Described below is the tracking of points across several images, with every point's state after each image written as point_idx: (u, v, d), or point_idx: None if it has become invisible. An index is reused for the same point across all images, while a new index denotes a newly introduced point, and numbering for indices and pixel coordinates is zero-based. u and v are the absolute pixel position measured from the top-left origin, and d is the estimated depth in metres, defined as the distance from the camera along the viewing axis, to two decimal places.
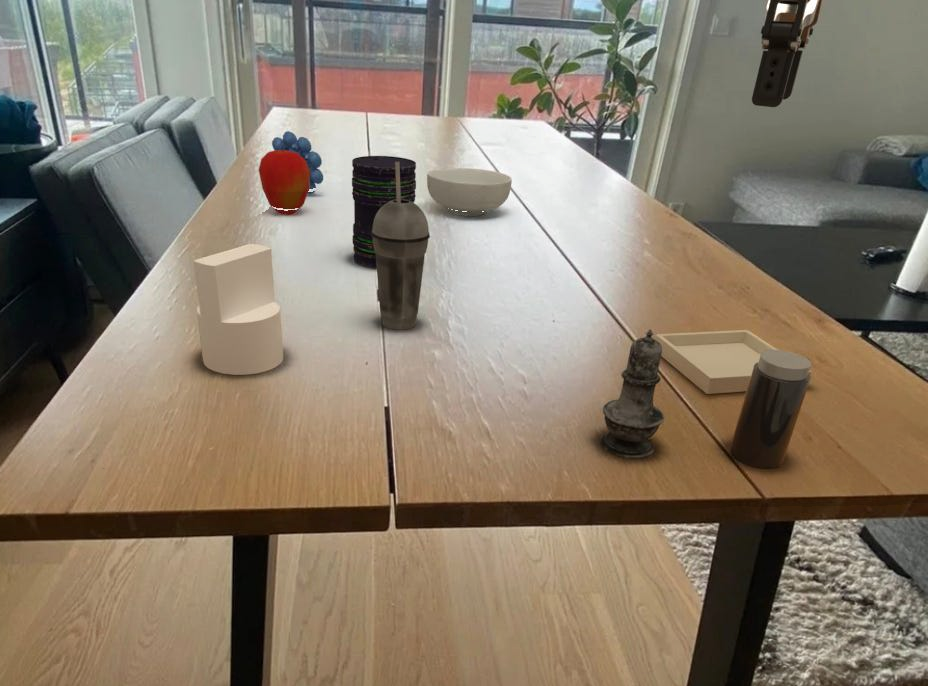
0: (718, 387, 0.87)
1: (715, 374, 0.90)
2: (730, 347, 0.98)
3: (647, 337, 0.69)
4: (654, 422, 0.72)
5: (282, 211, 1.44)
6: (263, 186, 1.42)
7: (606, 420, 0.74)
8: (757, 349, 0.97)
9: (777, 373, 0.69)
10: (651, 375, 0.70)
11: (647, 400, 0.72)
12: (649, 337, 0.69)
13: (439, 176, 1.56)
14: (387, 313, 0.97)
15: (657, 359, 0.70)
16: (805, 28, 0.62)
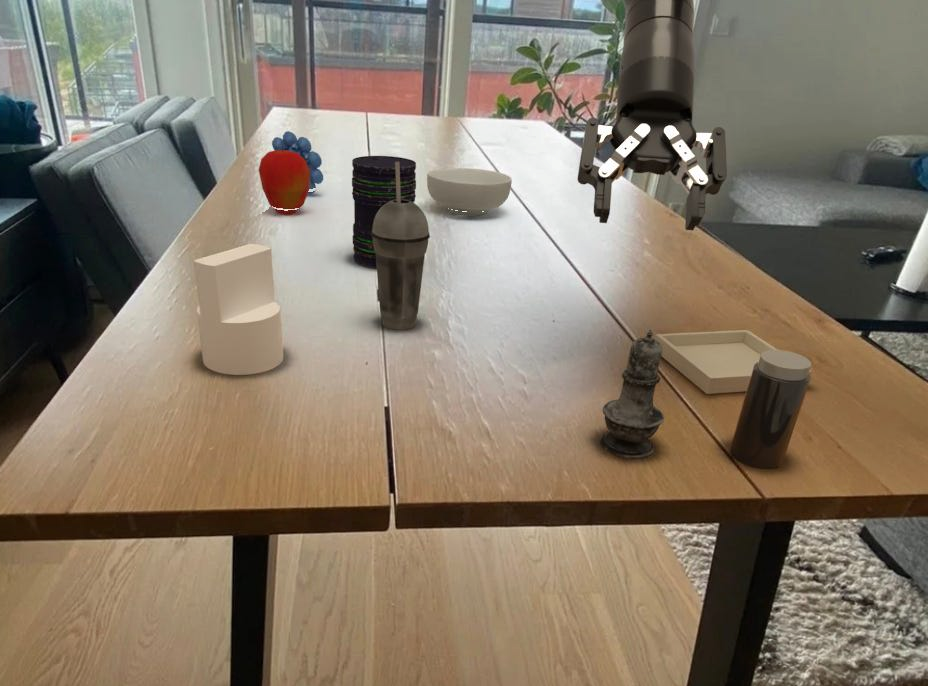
0: (718, 387, 0.87)
1: (715, 374, 0.90)
2: (730, 347, 0.98)
3: (647, 337, 0.69)
4: (654, 422, 0.72)
5: (282, 211, 1.44)
6: (263, 186, 1.42)
7: (606, 420, 0.74)
8: (757, 349, 0.97)
9: (777, 373, 0.69)
10: (651, 375, 0.70)
11: (647, 400, 0.72)
12: (649, 337, 0.69)
13: (439, 176, 1.56)
14: (387, 313, 0.97)
15: (657, 359, 0.70)
16: (687, 172, 0.75)
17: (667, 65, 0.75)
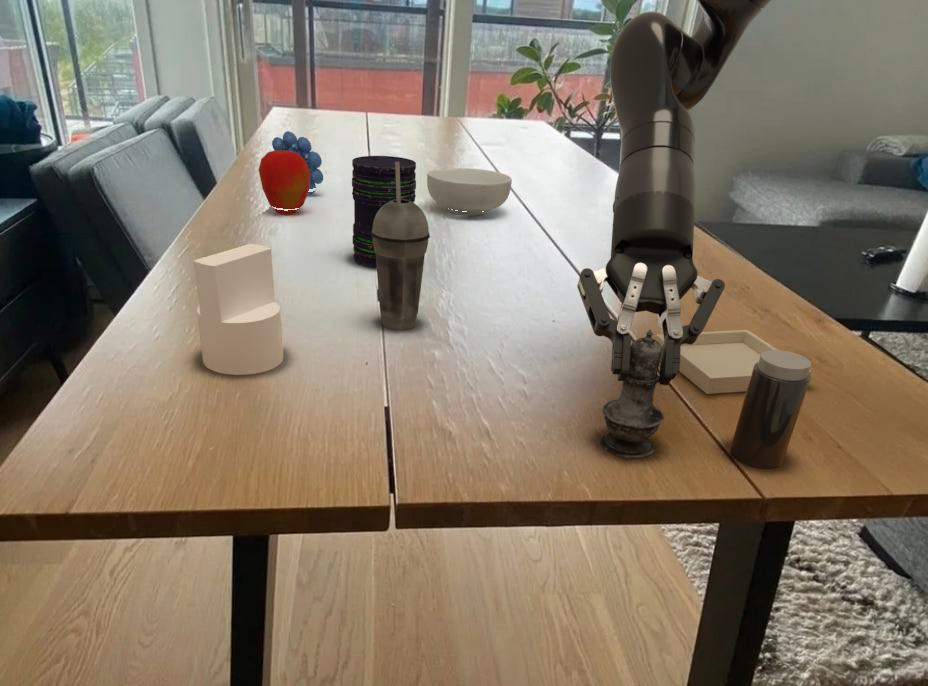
0: (718, 387, 0.87)
1: (715, 374, 0.90)
2: (730, 347, 0.98)
3: (647, 337, 0.69)
4: (654, 422, 0.72)
5: (282, 211, 1.44)
6: (263, 186, 1.42)
7: (606, 420, 0.74)
8: (757, 349, 0.97)
9: (777, 373, 0.69)
10: (651, 375, 0.70)
11: (647, 400, 0.72)
12: (649, 337, 0.69)
13: (439, 176, 1.56)
14: (387, 313, 0.97)
15: (657, 360, 0.70)
16: (666, 318, 0.70)
17: (665, 201, 0.70)
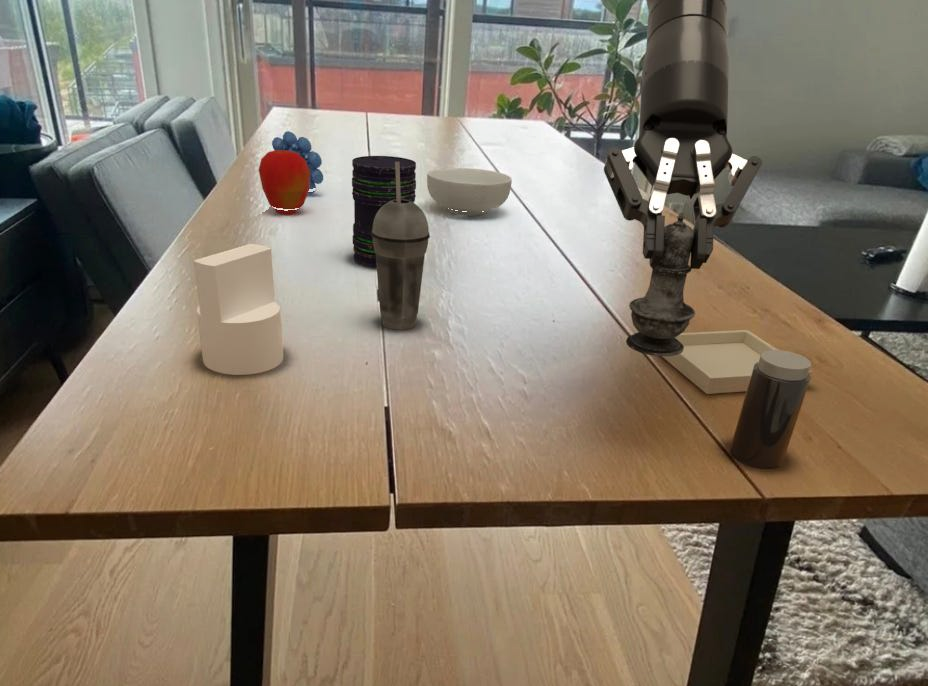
0: (718, 387, 0.87)
1: (715, 374, 0.90)
2: (730, 347, 0.98)
3: (678, 221, 0.65)
4: (685, 315, 0.68)
5: (282, 211, 1.44)
6: (263, 186, 1.42)
7: (633, 316, 0.70)
8: (757, 349, 0.97)
9: (777, 373, 0.69)
10: (682, 263, 0.66)
11: (677, 292, 0.67)
12: (680, 221, 0.65)
13: (439, 176, 1.56)
14: (387, 313, 0.97)
15: (689, 245, 0.65)
16: (698, 197, 0.65)
17: (698, 71, 0.65)
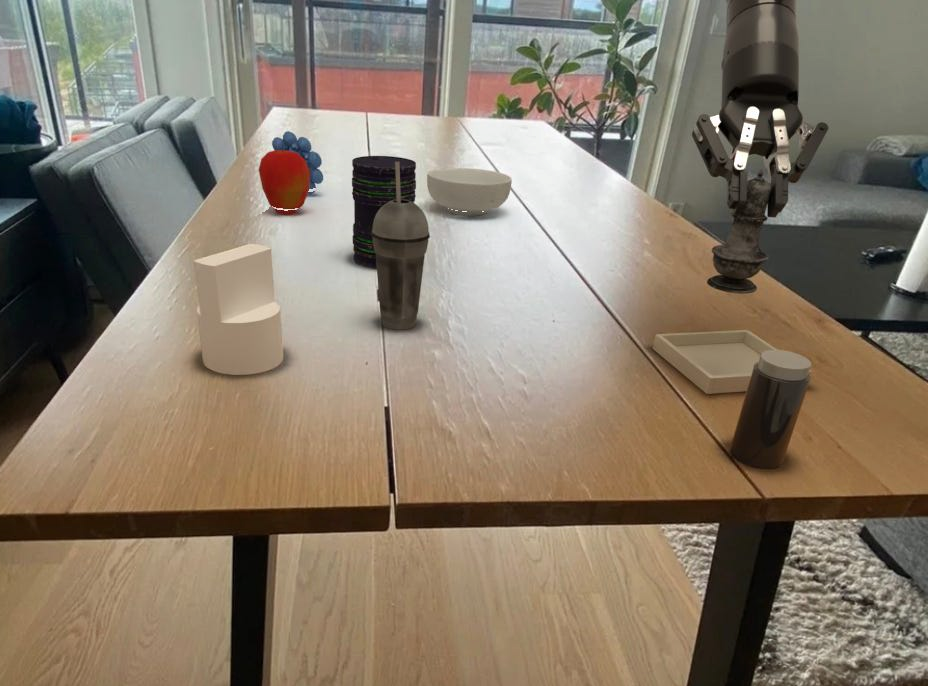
0: (718, 387, 0.87)
1: (715, 374, 0.90)
2: (730, 347, 0.98)
3: (758, 176, 0.78)
4: (761, 258, 0.80)
5: (282, 211, 1.44)
6: (263, 186, 1.42)
7: (715, 259, 0.82)
8: (757, 349, 0.97)
9: (777, 373, 0.69)
10: (761, 213, 0.78)
11: (755, 238, 0.80)
12: (760, 176, 0.78)
13: (439, 176, 1.56)
14: (387, 313, 0.97)
15: (767, 197, 0.78)
16: (775, 156, 0.78)
17: (776, 50, 0.77)
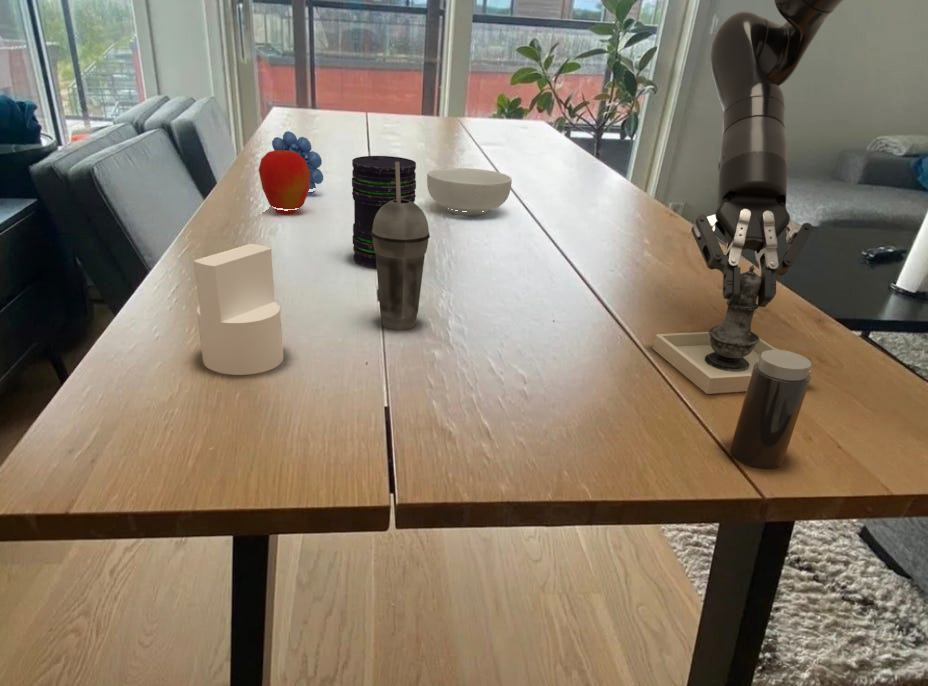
0: (718, 387, 0.87)
1: (715, 374, 0.90)
2: None
3: (750, 271, 0.87)
4: (752, 341, 0.90)
5: (282, 211, 1.44)
6: (263, 186, 1.42)
7: (712, 341, 0.92)
8: (757, 349, 0.97)
9: (777, 373, 0.69)
10: (752, 302, 0.88)
11: (747, 323, 0.90)
12: (751, 271, 0.87)
13: (439, 176, 1.56)
14: (387, 313, 0.97)
15: (757, 289, 0.88)
16: (765, 253, 0.88)
17: (766, 159, 0.87)
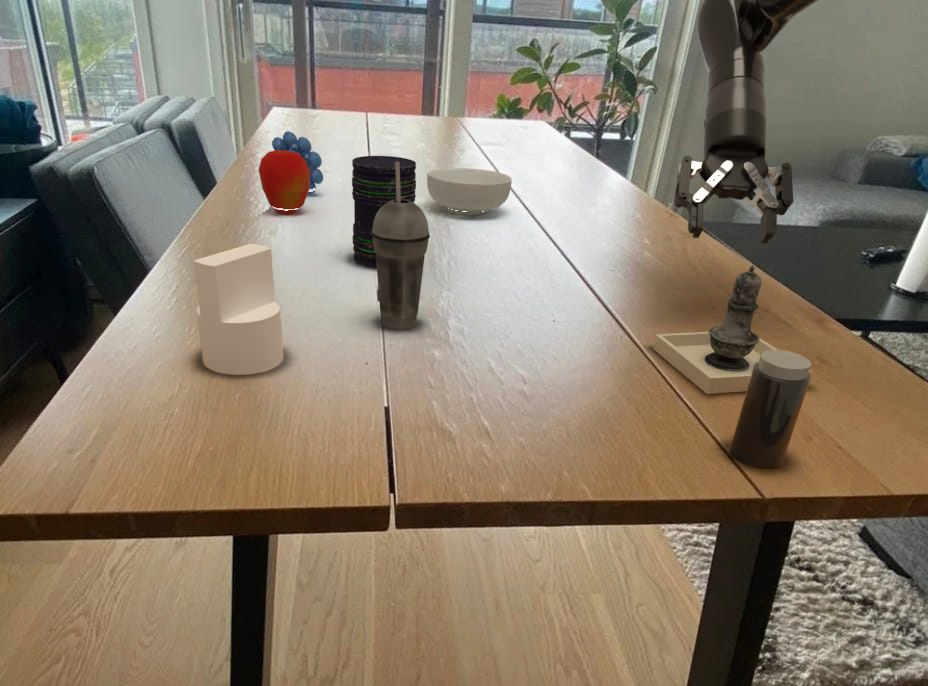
0: (718, 387, 0.87)
1: (715, 374, 0.90)
2: None
3: (750, 271, 0.87)
4: (752, 341, 0.90)
5: (282, 211, 1.44)
6: (263, 186, 1.42)
7: (712, 341, 0.92)
8: (757, 349, 0.97)
9: (777, 373, 0.69)
10: (752, 302, 0.88)
11: (747, 323, 0.90)
12: (751, 271, 0.87)
13: (439, 176, 1.56)
14: (387, 313, 0.97)
15: (757, 289, 0.88)
16: (762, 198, 0.97)
17: (747, 115, 0.96)
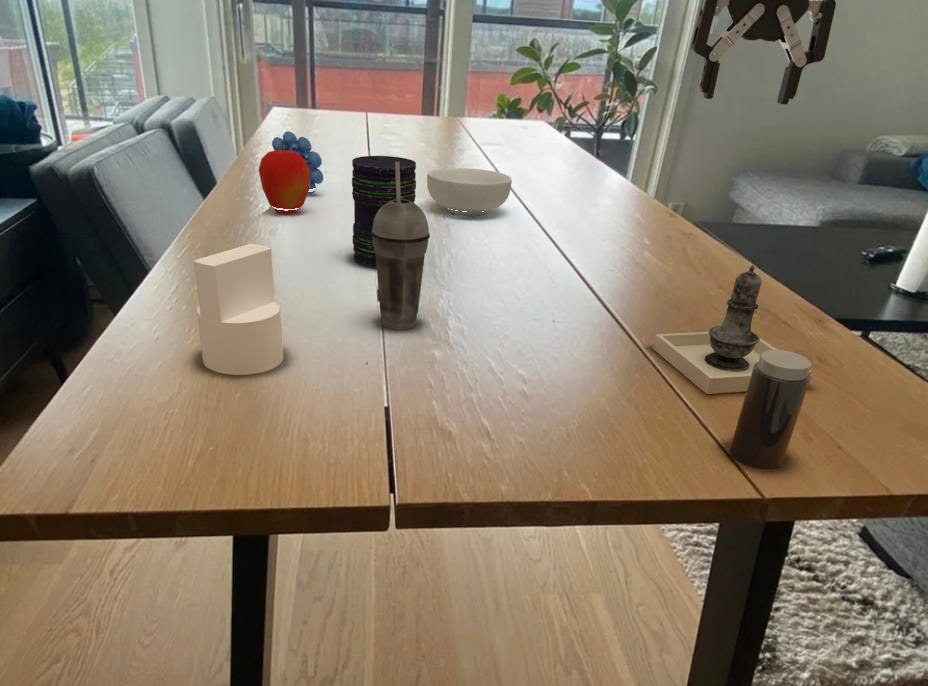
0: (718, 387, 0.87)
1: (715, 374, 0.90)
2: None
3: (750, 271, 0.87)
4: (752, 341, 0.90)
5: (282, 211, 1.44)
6: (263, 186, 1.42)
7: (712, 341, 0.92)
8: (757, 349, 0.97)
9: (777, 373, 0.69)
10: (752, 302, 0.88)
11: (747, 323, 0.90)
12: (751, 271, 0.87)
13: (439, 176, 1.56)
14: (387, 313, 0.97)
15: (757, 289, 0.88)
16: (789, 51, 0.85)
17: None
